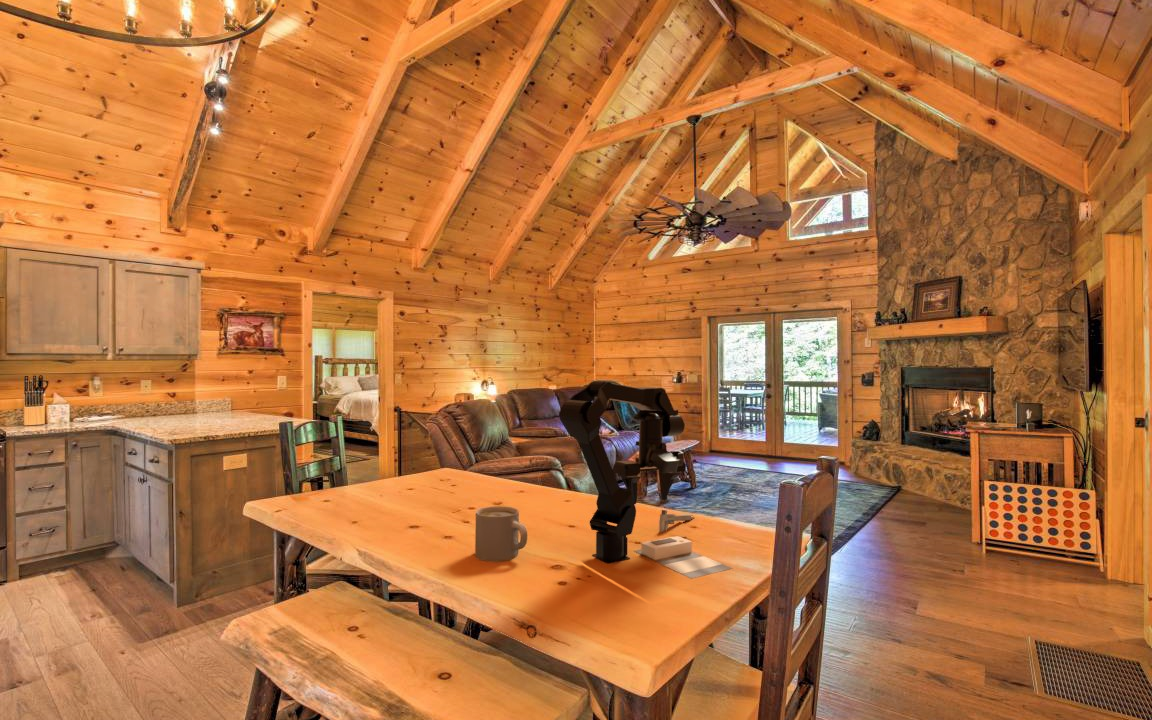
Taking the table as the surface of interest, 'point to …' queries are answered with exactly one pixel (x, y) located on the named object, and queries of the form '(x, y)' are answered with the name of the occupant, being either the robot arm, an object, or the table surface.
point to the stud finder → (666, 547)
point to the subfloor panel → (691, 564)
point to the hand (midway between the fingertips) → (649, 501)
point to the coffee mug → (498, 533)
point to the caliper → (671, 519)
